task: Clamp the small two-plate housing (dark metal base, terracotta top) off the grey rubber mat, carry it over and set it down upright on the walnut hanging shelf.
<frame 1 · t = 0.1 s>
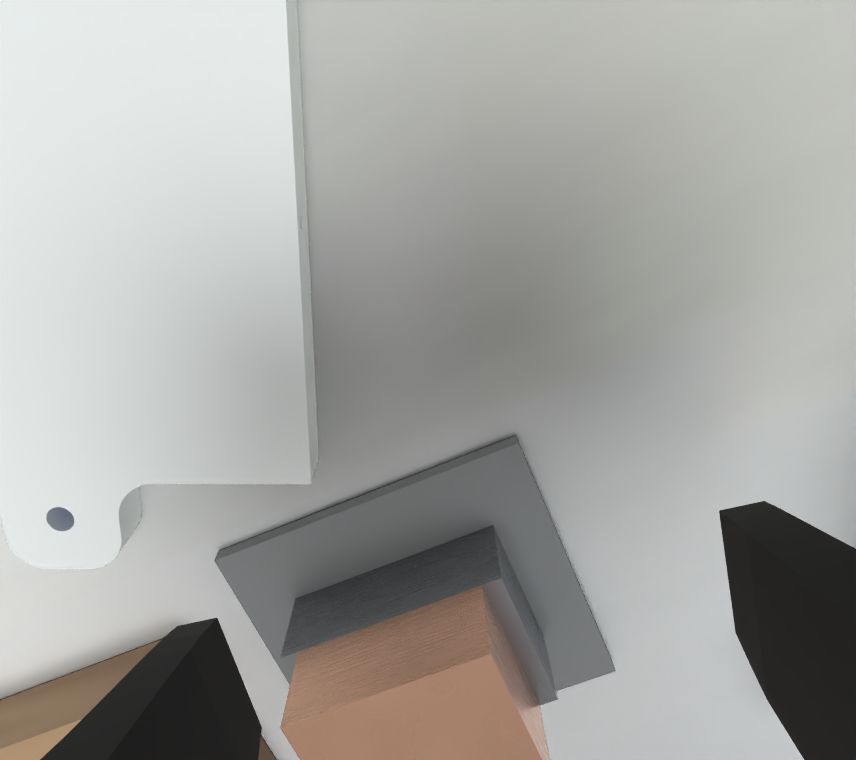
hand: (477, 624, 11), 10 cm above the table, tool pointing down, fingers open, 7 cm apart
housing: (420, 679, 20), on the mat a
mat a: (421, 606, 23), on the table
mounting plate: (50, 211, 19), on the table
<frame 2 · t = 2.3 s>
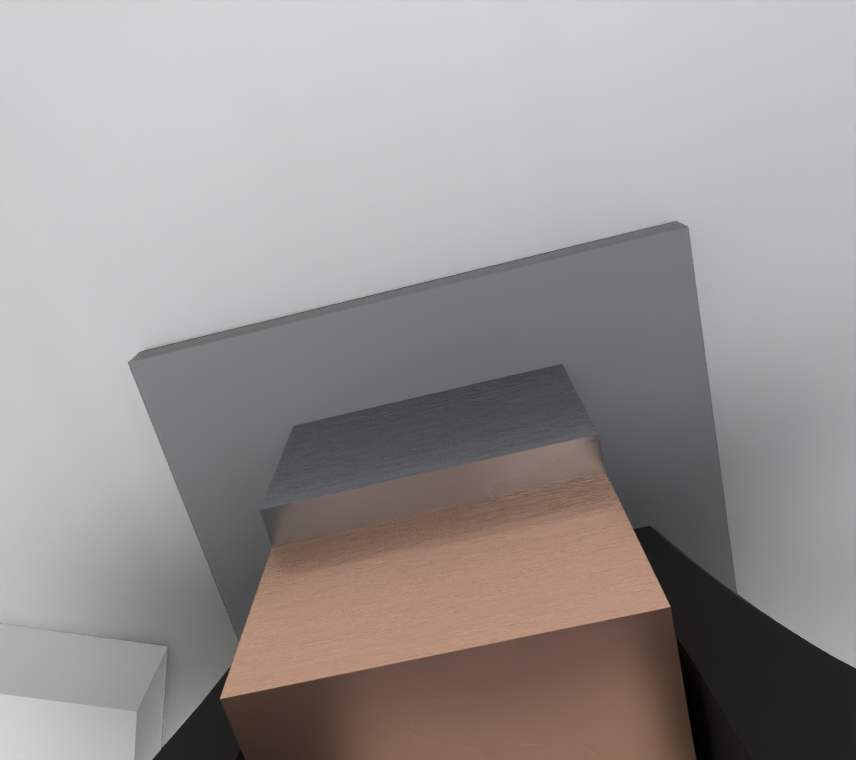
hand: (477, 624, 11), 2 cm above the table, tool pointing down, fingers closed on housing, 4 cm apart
housing: (482, 679, 10), on the mat a, touching gripper
mat a: (470, 550, 13), on the table
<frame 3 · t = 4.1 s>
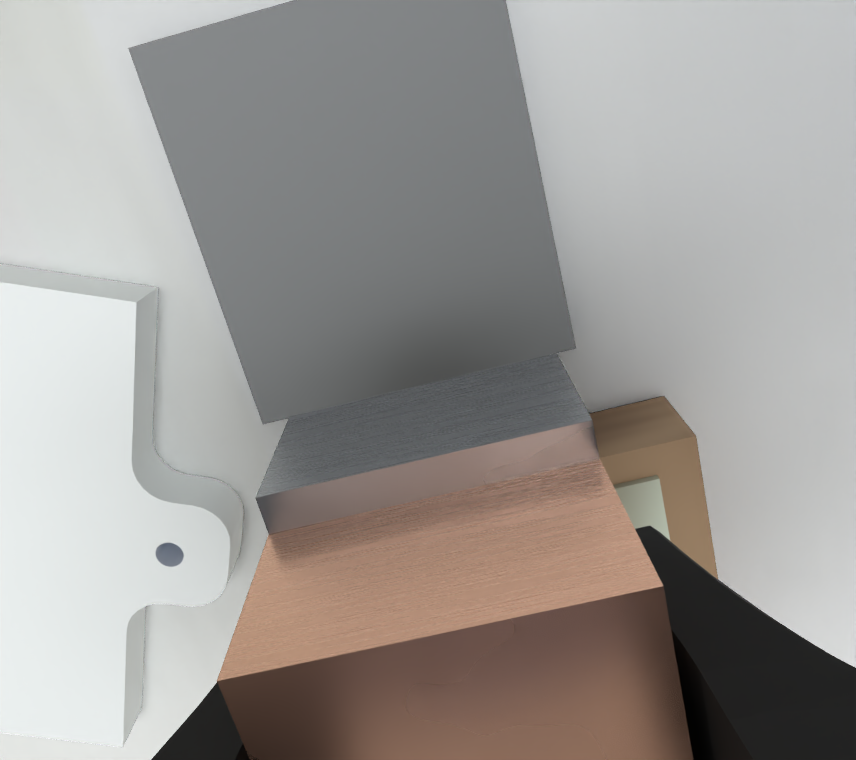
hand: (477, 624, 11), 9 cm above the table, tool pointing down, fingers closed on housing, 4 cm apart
housing: (478, 666, 10), point 10 cm above the table, touching gripper
mat a: (368, 205, 18), on the table
stand b: (545, 575, 22), on the table
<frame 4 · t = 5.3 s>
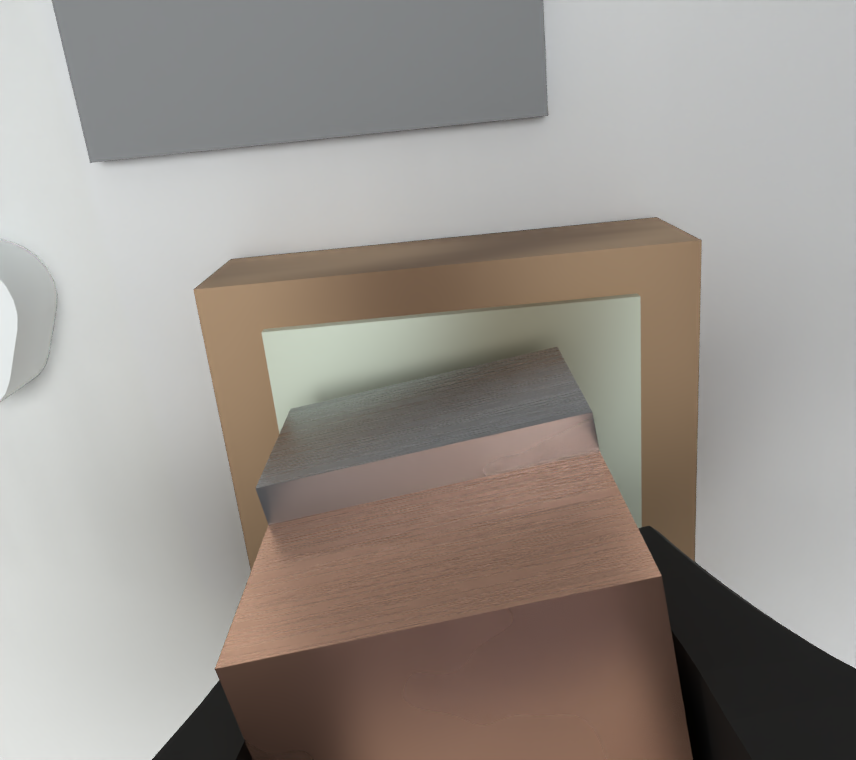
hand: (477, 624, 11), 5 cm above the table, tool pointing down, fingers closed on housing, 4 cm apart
housing: (477, 658, 10), point 6 cm above the table, touching gripper
stand b: (461, 455, 16), on the table
when the fingers open (5 cm above the table, at t = 6.2 s): housing stays where it is, resting on stand b.
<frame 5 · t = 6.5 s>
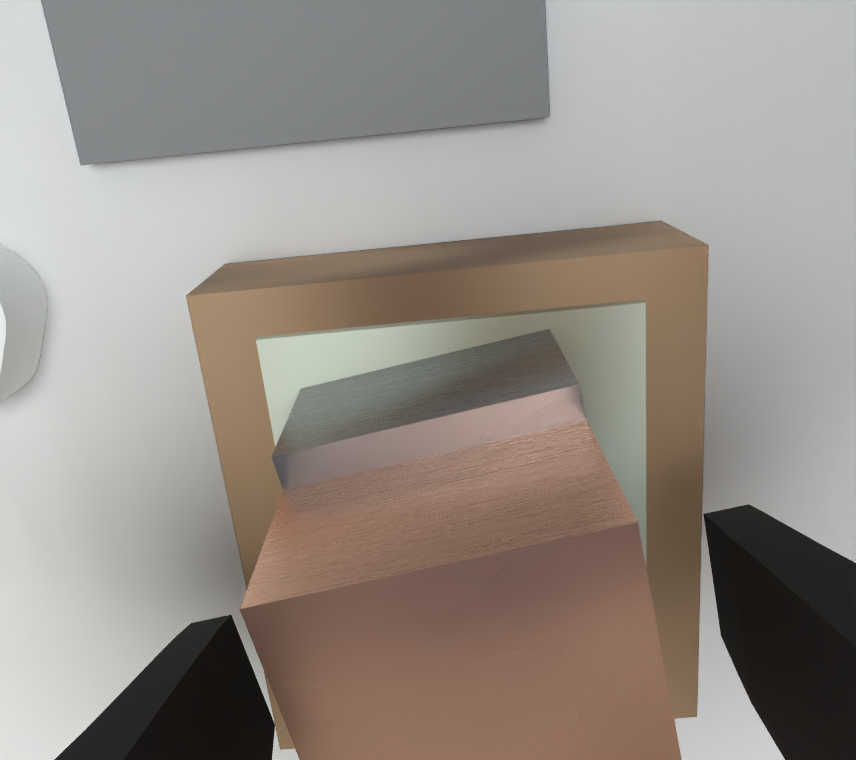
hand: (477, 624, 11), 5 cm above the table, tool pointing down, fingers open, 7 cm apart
housing: (476, 615, 11), on the stand b, point 5 cm above the table
stand b: (461, 464, 16), on the table
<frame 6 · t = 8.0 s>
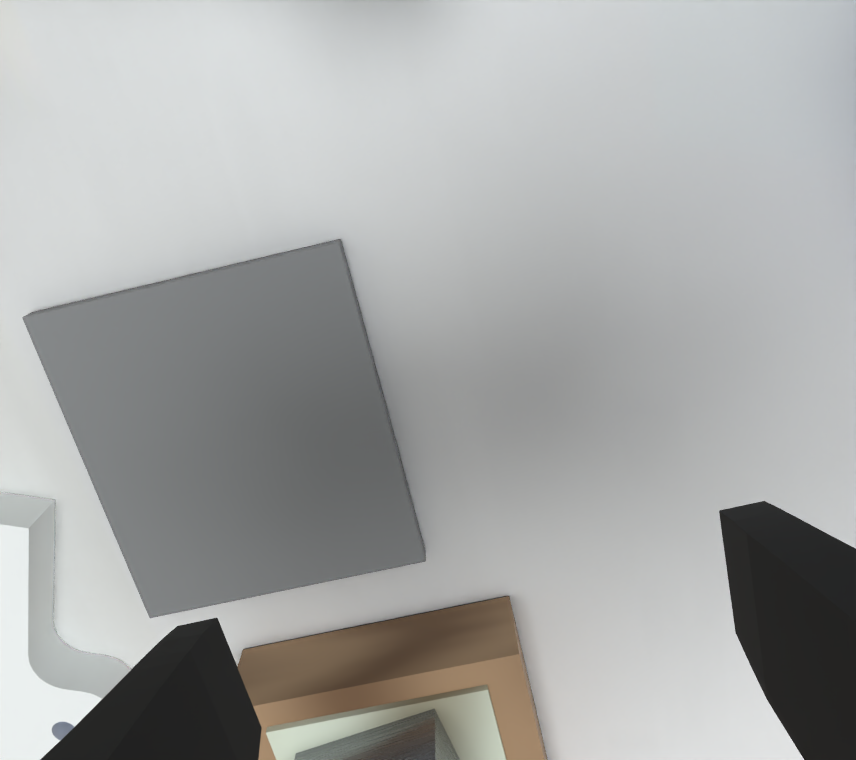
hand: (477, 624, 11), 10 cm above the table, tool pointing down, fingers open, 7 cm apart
mat a: (240, 438, 21), on the table
stand b: (410, 741, 24), on the table
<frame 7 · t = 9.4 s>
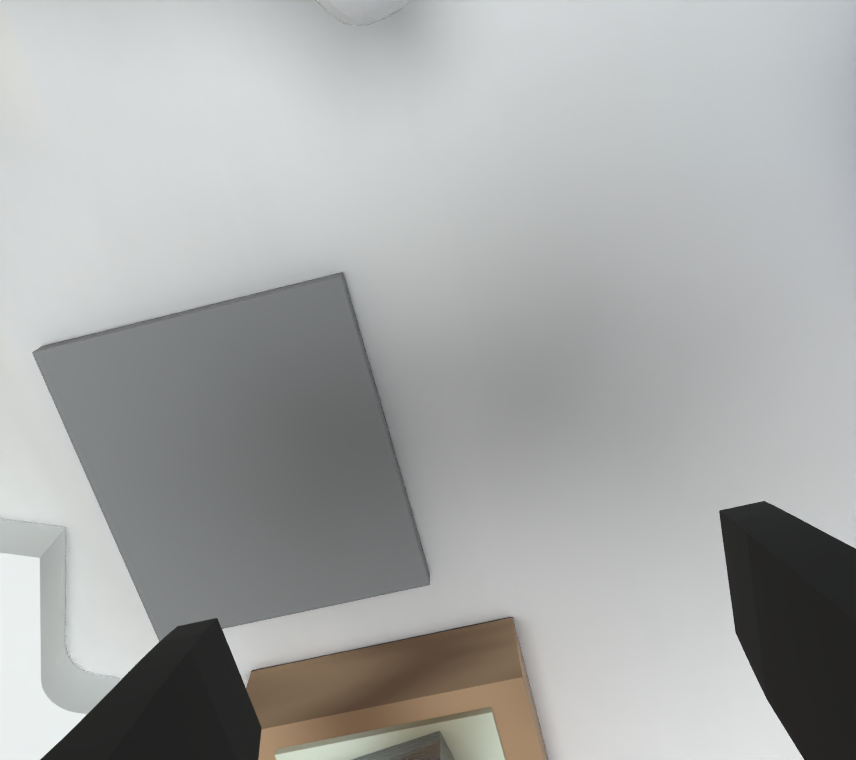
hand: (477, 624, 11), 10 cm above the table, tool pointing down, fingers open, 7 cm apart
mat a: (246, 466, 21), on the table
stand b: (417, 759, 24), on the table
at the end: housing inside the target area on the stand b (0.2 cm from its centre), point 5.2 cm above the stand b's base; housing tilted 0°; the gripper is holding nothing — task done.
